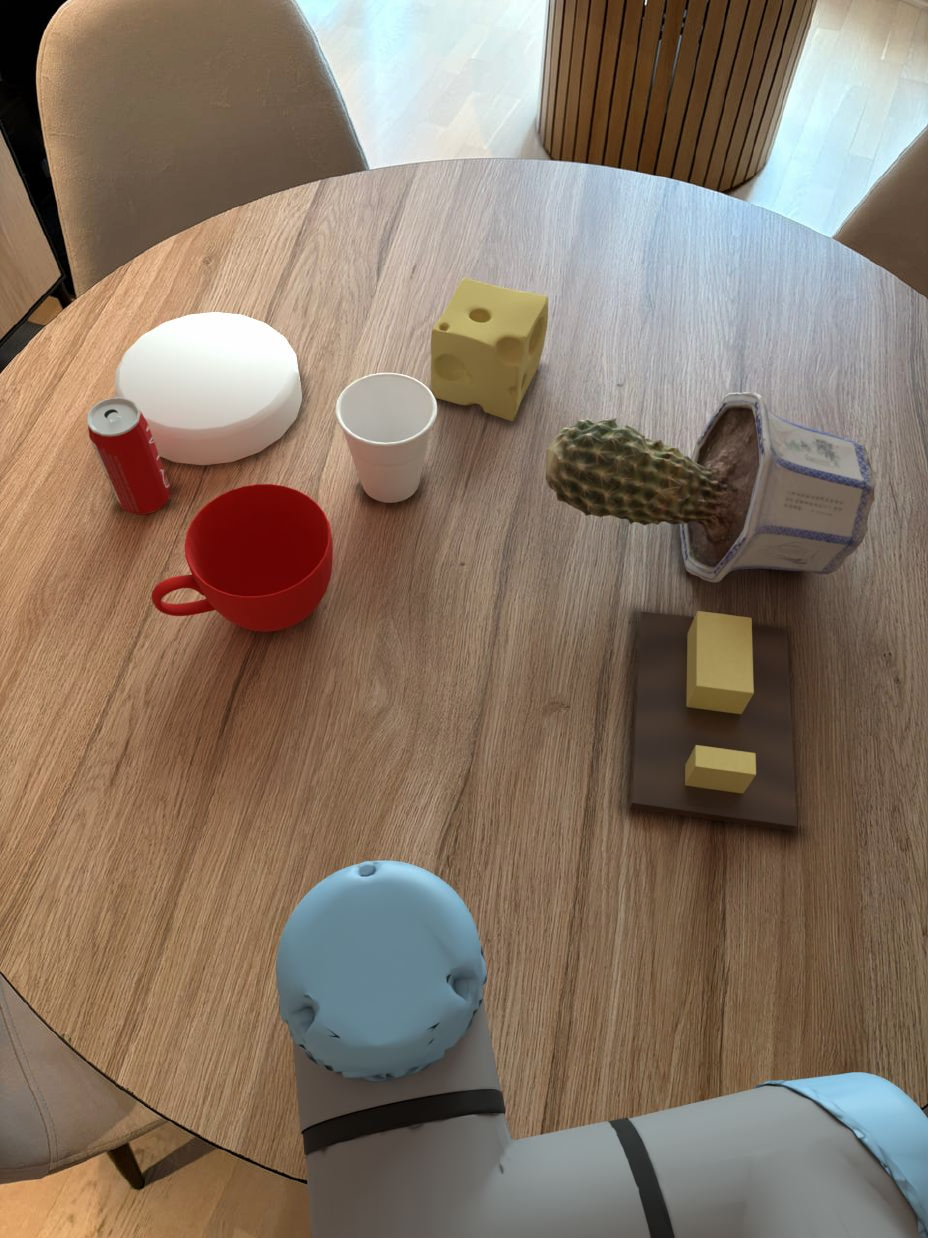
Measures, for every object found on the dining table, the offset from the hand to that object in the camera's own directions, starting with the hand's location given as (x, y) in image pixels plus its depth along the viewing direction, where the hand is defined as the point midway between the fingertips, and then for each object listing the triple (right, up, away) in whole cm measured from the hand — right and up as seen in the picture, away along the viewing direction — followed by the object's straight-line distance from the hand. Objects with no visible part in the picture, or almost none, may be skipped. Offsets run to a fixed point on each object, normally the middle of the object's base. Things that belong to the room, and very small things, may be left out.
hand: (406, 1091), depth 66 cm
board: (+27, +24, +21) cm, 41 cm away
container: (-24, +57, +42) cm, 75 cm away
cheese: (+6, +60, +45) cm, 75 cm away
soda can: (-29, +45, +34) cm, 64 cm away
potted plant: (+26, +40, +33) cm, 58 cm away
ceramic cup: (-16, +33, +27) cm, 46 cm away
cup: (-4, +47, +36) cm, 59 cm away
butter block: (+27, +28, +23) cm, 45 cm away
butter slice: (+26, +19, +17) cm, 36 cm away
